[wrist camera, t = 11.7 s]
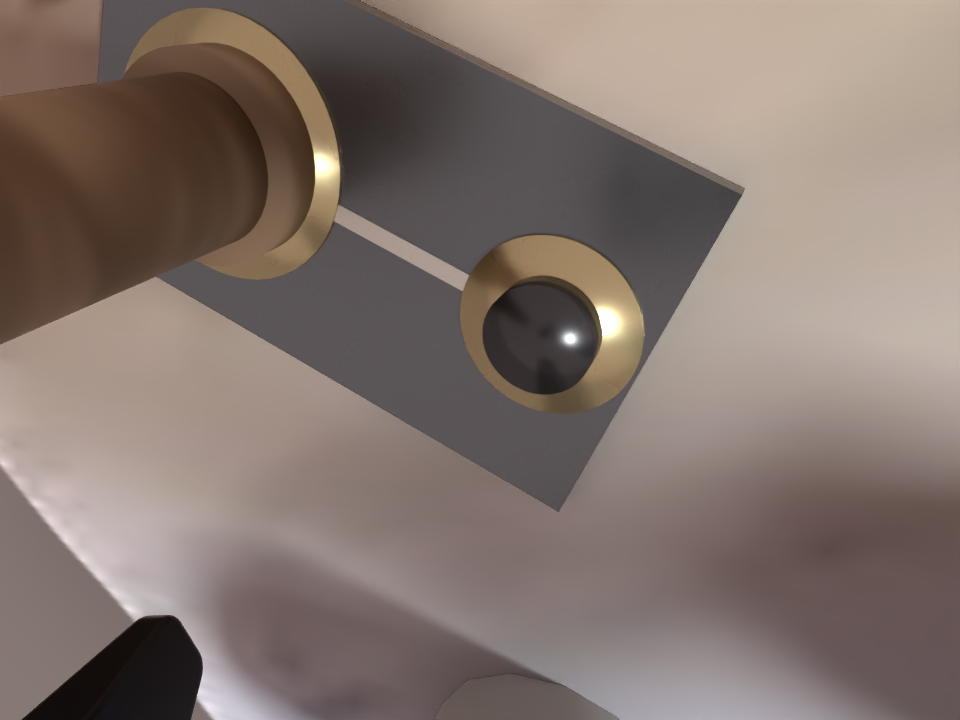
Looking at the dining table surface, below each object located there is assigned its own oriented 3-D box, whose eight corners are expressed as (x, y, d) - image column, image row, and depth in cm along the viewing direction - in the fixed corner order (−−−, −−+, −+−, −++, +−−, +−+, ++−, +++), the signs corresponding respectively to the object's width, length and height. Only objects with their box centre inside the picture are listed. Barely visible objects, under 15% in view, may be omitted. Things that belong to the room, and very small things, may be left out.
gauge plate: (744, 188, 17) (736, 206, 16) (564, 500, 22) (547, 532, 21) (130, -111, 20) (79, -118, 18) (100, 230, 25) (59, 244, 24)
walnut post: (350, 213, 20) (-115, 437, 10) (210, 278, 23) (-263, 505, 13) (246, 1, 19) (-403, 26, 9) (111, 98, 22) (-498, 199, 12)
